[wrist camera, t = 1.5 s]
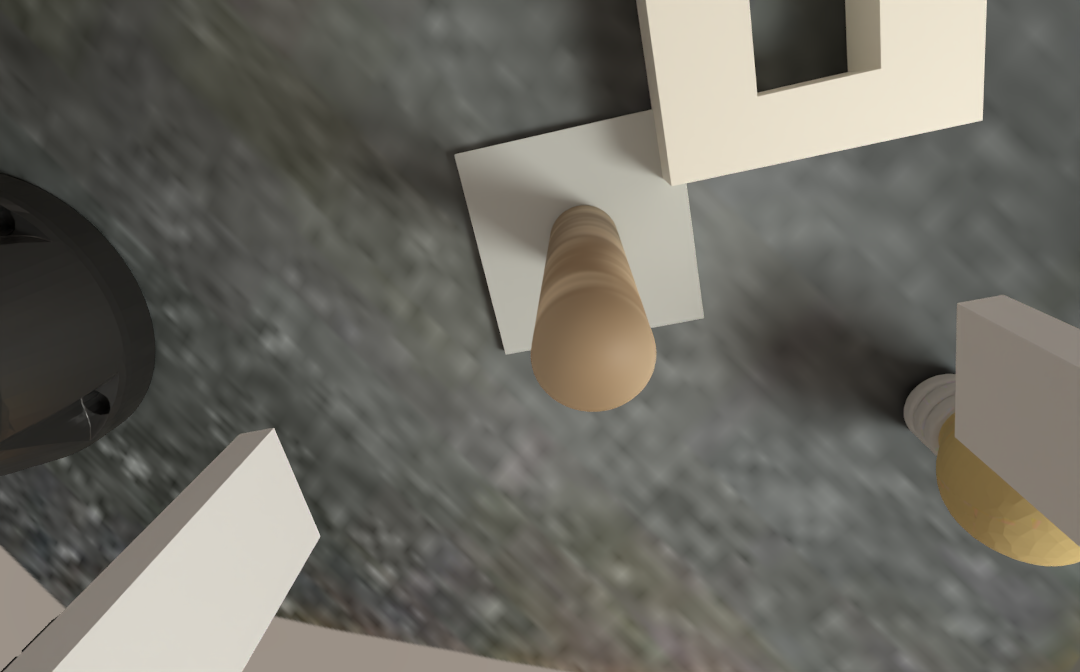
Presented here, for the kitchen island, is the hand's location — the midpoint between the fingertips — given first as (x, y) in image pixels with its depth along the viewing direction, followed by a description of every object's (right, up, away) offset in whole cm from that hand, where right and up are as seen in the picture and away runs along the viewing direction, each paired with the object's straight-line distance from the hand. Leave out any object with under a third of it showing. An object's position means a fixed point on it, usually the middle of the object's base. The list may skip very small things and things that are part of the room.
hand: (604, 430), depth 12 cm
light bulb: (+19, -1, +20) cm, 27 cm away
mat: (+1, +7, +17) cm, 18 cm away
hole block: (+9, +15, +14) cm, 22 cm away
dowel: (+1, +6, +17) cm, 18 cm away
